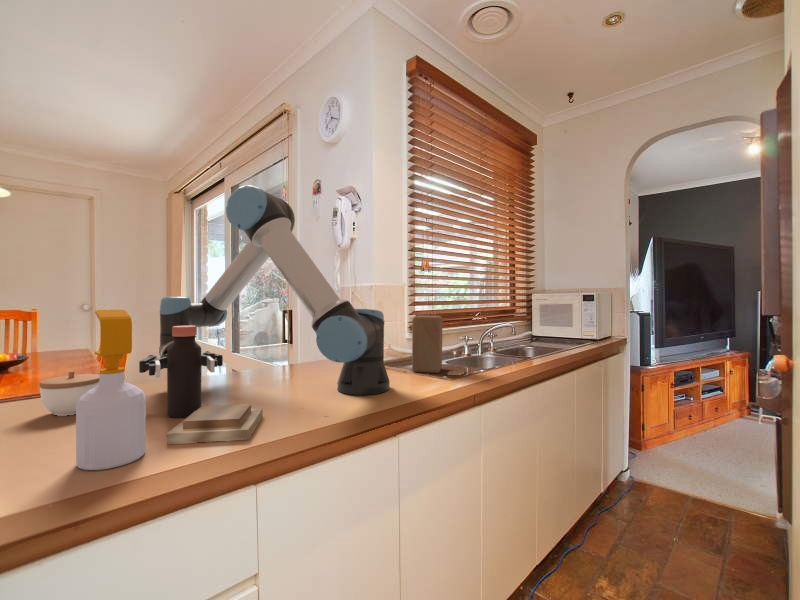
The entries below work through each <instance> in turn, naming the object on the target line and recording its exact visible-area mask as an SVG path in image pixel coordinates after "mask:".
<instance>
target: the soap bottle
mask: <svg viewBox="0 0 800 600" xmlns="http://www.w3.org/2000/svg"><path fill="white" fill-rule="evenodd" d="M94 314H95V315H96V317H97V318H98V321H99V324H100V325H99V327H100V336H99V337H100V345H99V347H100V349H99V350H96V351H94V355H95V356H98V357H101V360H102V361H105V362H106V363H105V368H101V369H99V375H100V383H99V384H98V385H97V386H96V387H94V388H93V389H91V390H89V391H88V392H86V393H85V394H84V395H83V396H82V397H81V398H79V400H78V402H77V405H76V415H75V464H76V465H77V467H78V468H79V469H81V470H85V471H102V470H109V469H115V468H119V467H122V466H125V465H128V464H130V463H133V462H135V461H137V460H138V459H140V458H141V457H143V456H144V454H145V453H146V447H147V446H146V445H147V444H146V442H147V441H146V440H147V439H146V436H147V435H146V429H147V428H146V419H147V418H146V417H147V416H146V409H147V408H146V404H147V403H146V398H147V396H146V394H145V392H144V390H143V389H141V388H139V387H137V386H136V385H134V384H132V383H128V382H127V381H126V379H125V378H126V371H125V367H123V366H120V365H119V363H120V362H119V361H120V360H122V359H123V357H124V356H123V355H126V354H127V355H128V354H131V353H132V350H133V321H132V316H130V314H129V313H128V312H127V311H126V310H125V309H96V310H95V312H94Z"/></svg>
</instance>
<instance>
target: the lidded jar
mask: <svg viewBox="0 0 800 600" xmlns="http://www.w3.org/2000/svg"><path fill="white" fill-rule="evenodd" d="M99 383H100V374H97V373H95V374H93V373H83V374H82V373H80V374H75V371H74V370H72V371H71V370H70V371H68V375H60V376H56V377H55V376H54V377H50V378H46V379H43V380H41V381H39V387H40V389H39V391H40V398H41V403H42V404H43V407H44V408H45V410H47V411H48V412H50V413H52V414H53V416H54V415H57V416H56V417H68V416H67V415H70V416H75V415H74V414H76V405H77V402H78V400H79V398H81V397H82V396H83V395H84V394H85V393H86V392H88V391H89V390H91V389H93V388H94V387H96V386H97V385H98V384H99Z"/></svg>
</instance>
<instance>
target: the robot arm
mask: <svg viewBox="0 0 800 600" xmlns="http://www.w3.org/2000/svg"><path fill="white" fill-rule="evenodd" d="M226 204H227V205H226V207H225V213H226V214H225V215H226V218H227V220H228V223H230V224H231V226H232V227H234V228H236V229H237V230H240V231H243V232H244V233H245V235H246V236H247V238H248V241H247V243H246V244H245V245H244V246H243V248H242V249H240V252H239V253H238V254H237V255H236V256H235V258H234V259H233V261H232V262H231V263H230V264H229V265H228V267H227V268H226V269H225V271H224V272H223V273H222V274H221V275H220V277H219V278H218V280H217V281H216V282H215V284H214V285H213V286H212V287H211V288H210V290H209V291H208V292H207V293H206V295H205V296H204V297H203V298H202V300H200V302H192V301H191V298H190V297H189V296H164V297H162V298H161V299H160V306H159V317H160V318H159V321H160V322H159V324H160V326H159V328H160V329H159V330H160V333H159V334H160V335H159V351H158V354H159V356H160V357H158V356H157V355H154V354H149V355H147V357H146V358H143V359H142V360H139V363H138V364H139V368H138V369H139V370H138V371H139V372H138V373H142V374H143V373H146V372H148V376H149V377H150V376H152V377H153V376H155V378H156V379H158V378H161V370H164V369H167V349H168V348H169V347H170V346H171V345H172V344H173V343H174V339H173V338H172V337H174V336H172V327H173V326H197V328H204V327H214V326H217V325H221V324H223V323H224V322H225V321H226V320H227V315H228V308H229V307H230V306H231V305H232V303H233V302H234V301H235V300H236V299H237V297H238V296H239V295H240V293H242V291H243V290H244V289H245V287H246V286H247V285H248V283H249V282H250V281H251V280H252V279H253V277H254V276H255V275H256V274H257V273H258V272H259V270H260V269H261V268H262V266H263V265H265V263H266V262H267V260H268V259H270V260H271V261H272V263H273V264H274V266H275V267H276V269H277V270H278V271H279V272H280V274H281V276H282V277H283V278H284V279H285V281H286V282H287V284H288V285H289V287H290V288H291V289H292V291H293V292H294V294H295V295H296V297H297V298H298V299H299V301H300V302H301V304H302V305H303V306H304V308H305V310H307V312H308V314H309V315H310V316H311V318H312V321H311V325H310V326H311V328H312V330H313V332H314V333H315V334H316V338H315V341H316V346H317V348H318V351H319V352H320V353H321V354H322V355H323V356H324V357H325V358H326V359H327V360H329V361H331V362H334V363H338V364H339V363H343V364H342V367H341V370H340V373H339V376H338V379H337V391H338V392H339V393H343V394H347V395H354V396H355V395H357V396H358V395H359V396H363V395H364V396H366V395H367V396H369V395H377V394H378V395H379V394H383V393H385V392H388V391H389V390H390V389H391V387H390V385H391V384H390V383H391V382H390V379H389V376H388V372H387V369H386V365H385V361H384V360H385V359H384V356H385V355H384V354H385V352H384V351H385V349H384V348H385V322H386V320H385V318H384V312H383V311H381V310H378V309H371V308H354V306H353V305H352V303H351V302H350V301H349V300H348V299H341V298H340V296H338V294H337V293H336V291H335V290H334V288H333V286H331V284H330V283H329V281H327V279H326V277H325V276H324V275H323V273H322V272H321V271H320V269H319V268H318V267H317V265H316V264H315V262H314V261H313V260H312V258H311V256H310V255H309V253H307V251H306V250H305V248H304V247H303V245H302V244H301V243H300V241H299V240H298V239H297V237H296V236H295V235H294V233H293V230H294V227H295V221H296V219H295V213H294V210H293V208H292V206H291V205H290V204H289V203H288V202H287V201H286V200H285V199H282V198H280V197H278V196H275V195H273V194H271V193H269V192H267V191H265V190H264V189H262V188H261V187H259V186H254V185H249V184H248V185H242V186H239V187H238V188H236V189H235V190H234V191H232V193H231V194H230V196H229V198H228V200H227V202H226ZM223 360H224V358H223V354H217V353H215V352H214V353H213V352H210V351H208V350H207V351H204V352H202V354H201V367H206V369H207V370H208V371H209V372H210V373H215V370H216V369H215V368H216V367H222V366H223V363H224V362H223Z"/></svg>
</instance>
